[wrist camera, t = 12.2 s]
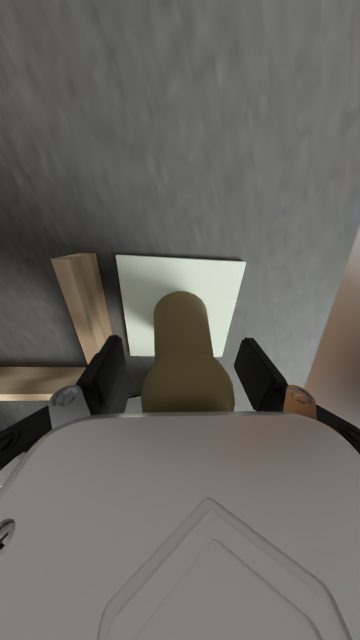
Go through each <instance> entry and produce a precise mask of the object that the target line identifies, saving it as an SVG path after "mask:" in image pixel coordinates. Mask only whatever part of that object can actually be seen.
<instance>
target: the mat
mask: <svg viewBox="0 0 360 640" xmlns="http://www.w3.org/2000/svg"><path fill="white" fill-rule="evenodd" d="M116 261H117V268H118V275H119V281H120V288H121V295H122V302H123V308H124V315H125V322H126V328H127V335H128V342H129V349H130V355H131V356H155V351H154V315H153V312H154V309H155V306H156V304H157V303H158V302H159V300H160V299H161V298H163V297H164V296H166V295H167V294H169V293H173V292H176V291H185V292H189V293H192V294H195V295H196V296H198V297H199V298H200V299H201V300H202V301H203V303H204V304H205V306H206V309H207V315H208V322H209V328H210V335H211V342H212V348H213V355H214V357H222V354H223V350H224V346H225V342H226V338H227V334H228V331H229V327H230V323H231V319H232V315H233V311H234V308H235V304H236V300H237V296H238V292H239V288H240V285H241V281H242V277H243V273H244V269H245V265H246V262H244V261H229V260H210V259H191V258H173V257H154V256H135V255H116Z"/></svg>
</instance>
